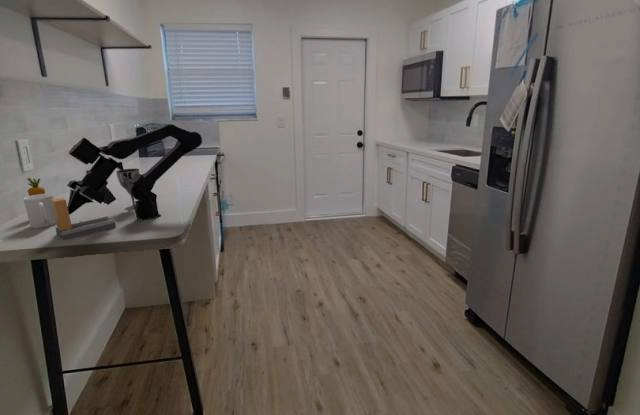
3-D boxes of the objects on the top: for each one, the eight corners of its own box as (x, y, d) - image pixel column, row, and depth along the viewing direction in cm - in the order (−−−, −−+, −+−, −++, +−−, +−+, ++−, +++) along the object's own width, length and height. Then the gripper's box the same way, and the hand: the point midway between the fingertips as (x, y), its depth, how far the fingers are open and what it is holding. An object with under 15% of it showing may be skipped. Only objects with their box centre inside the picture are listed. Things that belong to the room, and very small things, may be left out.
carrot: (54, 214, 141) (44, 176, 137) (41, 218, 137) (31, 178, 133) (44, 214, 143) (34, 176, 139) (31, 218, 138) (20, 178, 134)
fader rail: (107, 222, 129) (106, 215, 128) (116, 227, 123) (114, 219, 123) (56, 234, 118) (55, 226, 118) (63, 240, 113) (61, 232, 112)
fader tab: (69, 227, 119) (62, 197, 117) (74, 230, 116) (67, 199, 113) (56, 230, 117) (49, 199, 114) (60, 233, 114) (53, 202, 111)
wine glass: (118, 210, 145) (111, 172, 141) (134, 204, 152) (127, 168, 148) (135, 210, 142) (128, 172, 138) (149, 205, 150) (143, 168, 146)
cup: (58, 219, 135) (52, 192, 133) (61, 226, 126) (54, 198, 124) (30, 224, 130) (22, 196, 128) (31, 232, 121) (23, 202, 119)
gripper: (131, 190, 120) (101, 232, 116) (112, 183, 133) (83, 220, 128) (100, 170, 113) (66, 214, 108) (82, 165, 125) (51, 203, 121)
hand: (68, 213), depth 117 cm, fingers closed, pressing on fader tab
